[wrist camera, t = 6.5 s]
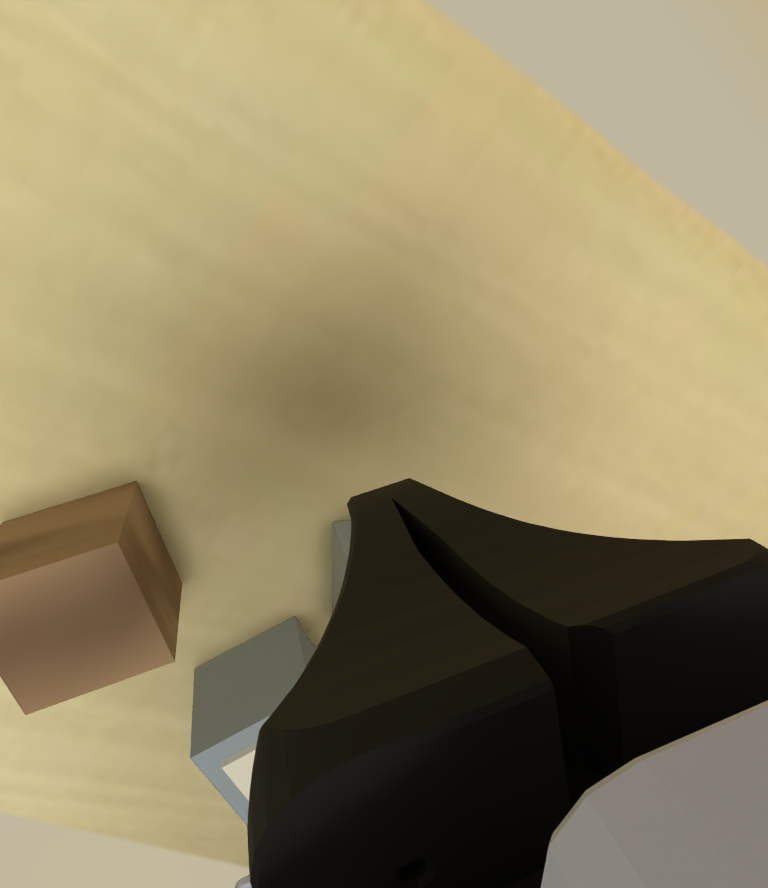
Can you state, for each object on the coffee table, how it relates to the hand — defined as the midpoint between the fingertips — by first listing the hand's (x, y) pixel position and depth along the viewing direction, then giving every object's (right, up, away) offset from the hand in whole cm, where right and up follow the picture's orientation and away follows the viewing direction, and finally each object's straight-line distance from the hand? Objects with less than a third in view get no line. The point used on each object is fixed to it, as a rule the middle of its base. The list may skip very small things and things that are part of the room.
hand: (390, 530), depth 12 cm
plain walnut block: (-10, -2, +9) cm, 14 cm away
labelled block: (-5, -8, +13) cm, 16 cm away
